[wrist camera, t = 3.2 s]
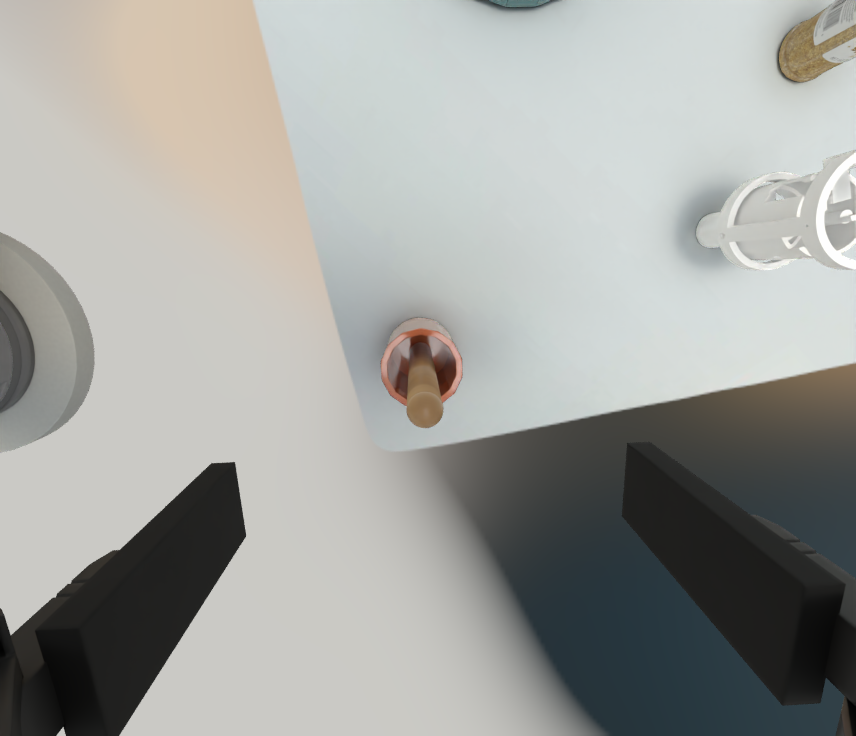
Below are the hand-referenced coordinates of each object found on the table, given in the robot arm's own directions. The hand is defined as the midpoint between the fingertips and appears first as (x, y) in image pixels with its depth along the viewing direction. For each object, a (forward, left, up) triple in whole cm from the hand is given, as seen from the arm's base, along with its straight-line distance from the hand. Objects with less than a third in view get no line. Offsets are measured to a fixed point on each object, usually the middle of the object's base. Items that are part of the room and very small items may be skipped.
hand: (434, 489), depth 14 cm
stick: (0, 0, -26) cm, 26 cm away
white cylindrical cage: (+27, +10, -27) cm, 39 cm away
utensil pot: (0, 0, -26) cm, 26 cm away
